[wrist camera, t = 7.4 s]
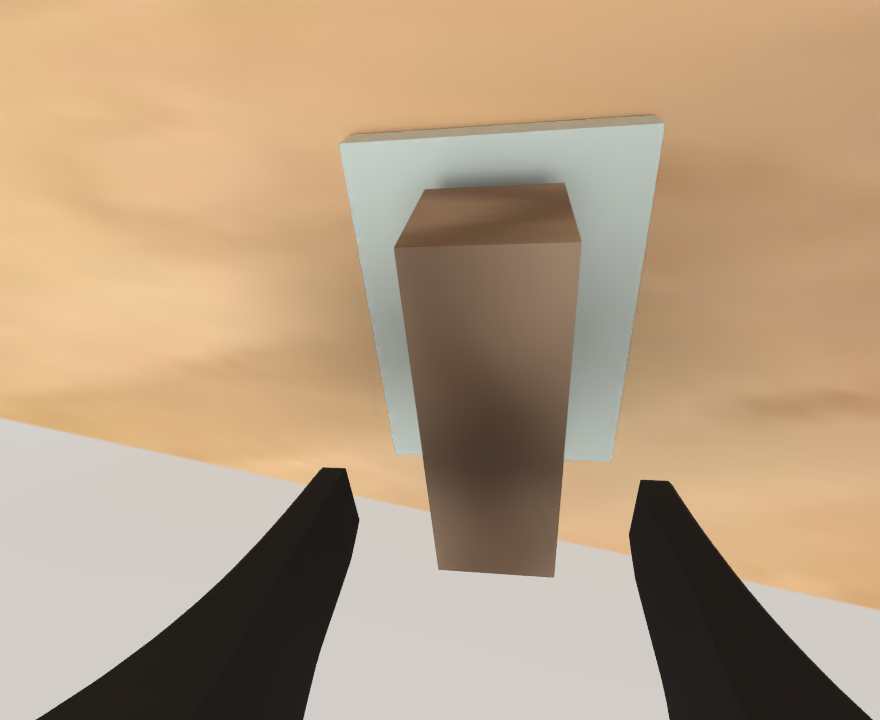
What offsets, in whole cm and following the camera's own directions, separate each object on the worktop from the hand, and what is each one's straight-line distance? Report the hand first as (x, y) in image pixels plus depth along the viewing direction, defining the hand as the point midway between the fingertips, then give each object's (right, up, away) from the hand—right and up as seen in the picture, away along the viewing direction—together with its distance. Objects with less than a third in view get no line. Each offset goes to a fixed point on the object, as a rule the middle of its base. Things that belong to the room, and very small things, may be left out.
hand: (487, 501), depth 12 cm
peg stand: (+1, +6, +8) cm, 10 cm away
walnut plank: (+1, +4, +5) cm, 6 cm away
